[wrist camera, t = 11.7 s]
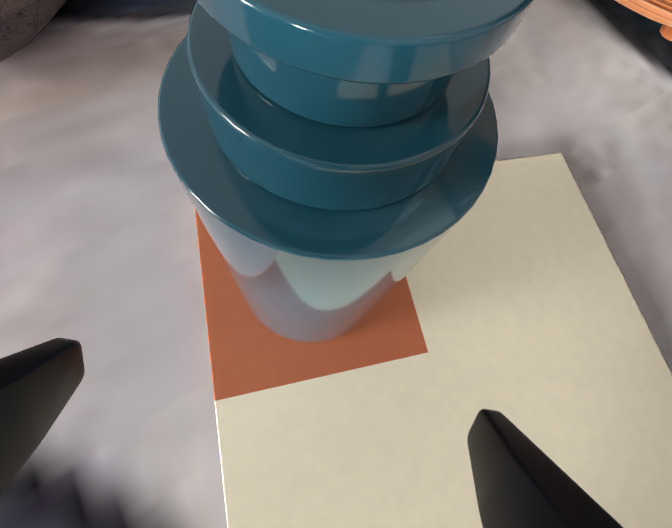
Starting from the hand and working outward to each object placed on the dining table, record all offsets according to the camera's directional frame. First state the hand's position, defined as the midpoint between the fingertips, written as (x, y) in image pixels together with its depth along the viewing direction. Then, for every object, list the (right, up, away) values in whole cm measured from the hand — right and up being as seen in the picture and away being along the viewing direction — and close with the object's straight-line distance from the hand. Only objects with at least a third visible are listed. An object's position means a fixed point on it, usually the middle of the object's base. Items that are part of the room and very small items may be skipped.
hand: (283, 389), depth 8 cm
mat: (+6, -2, +7) cm, 10 cm away
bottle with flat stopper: (0, +2, +8) cm, 8 cm away
